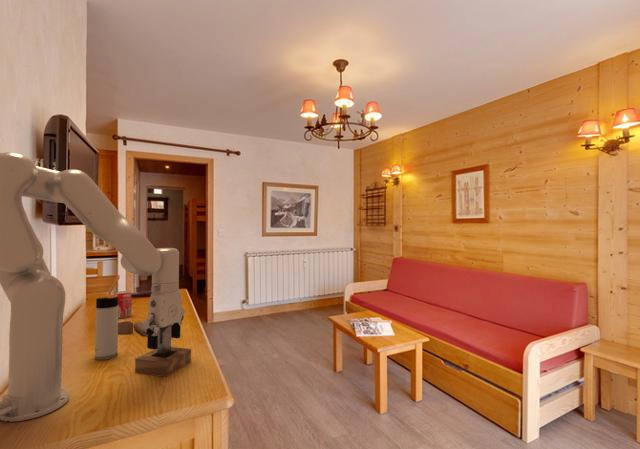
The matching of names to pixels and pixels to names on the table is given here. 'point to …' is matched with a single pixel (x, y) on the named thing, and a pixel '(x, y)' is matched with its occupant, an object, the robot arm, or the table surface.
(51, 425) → the table surface
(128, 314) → the soda can
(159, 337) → the round metal rod
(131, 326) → the wooden block set
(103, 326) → the travel mug
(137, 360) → the brown hollow tray
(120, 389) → the table surface
